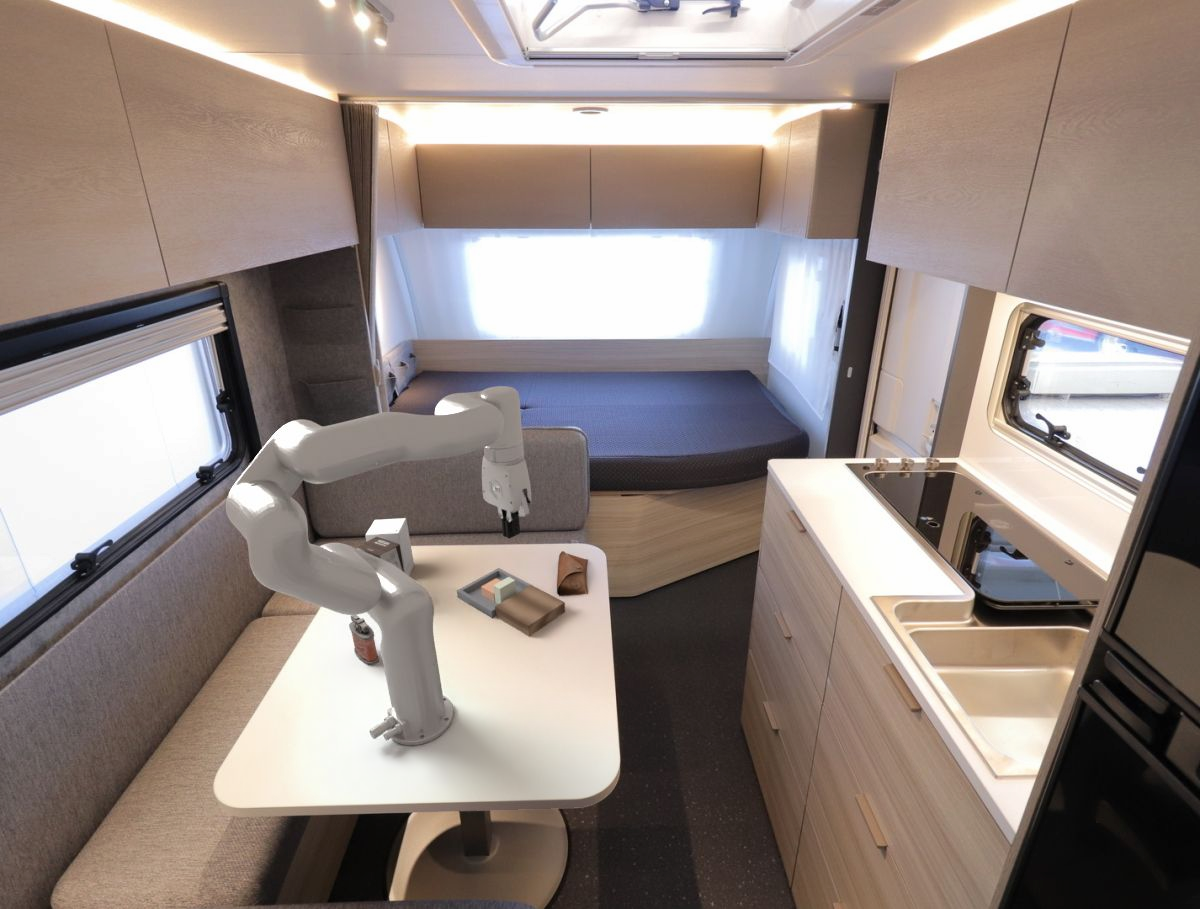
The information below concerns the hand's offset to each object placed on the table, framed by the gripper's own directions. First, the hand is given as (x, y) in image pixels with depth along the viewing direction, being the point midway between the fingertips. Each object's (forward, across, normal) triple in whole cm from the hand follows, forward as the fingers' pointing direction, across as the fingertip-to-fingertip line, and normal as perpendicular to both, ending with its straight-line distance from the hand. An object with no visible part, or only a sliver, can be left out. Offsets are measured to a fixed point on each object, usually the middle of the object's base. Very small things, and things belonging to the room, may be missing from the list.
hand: (511, 534), depth 125 cm
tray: (+31, -24, +12) cm, 41 cm away
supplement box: (+31, -54, +1) cm, 62 cm away
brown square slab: (+31, -10, +12) cm, 35 cm away
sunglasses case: (+32, -14, +31) cm, 47 cm away
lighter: (+31, -28, -22) cm, 47 cm away
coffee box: (+31, -44, -7) cm, 54 cm away
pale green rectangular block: (+28, -18, +12) cm, 36 cm away
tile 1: (+28, -24, +12) cm, 39 cm away
